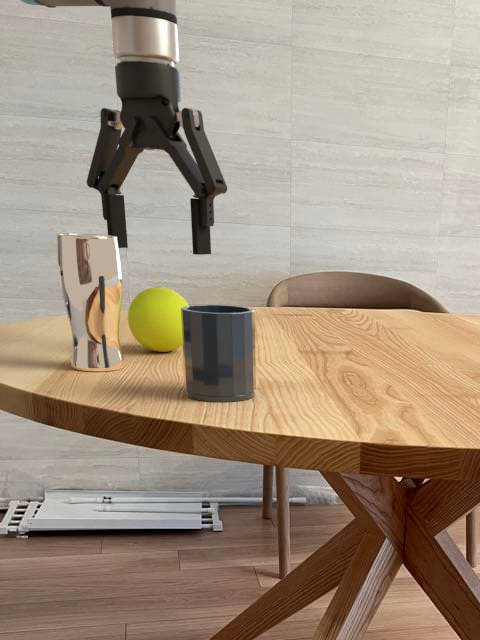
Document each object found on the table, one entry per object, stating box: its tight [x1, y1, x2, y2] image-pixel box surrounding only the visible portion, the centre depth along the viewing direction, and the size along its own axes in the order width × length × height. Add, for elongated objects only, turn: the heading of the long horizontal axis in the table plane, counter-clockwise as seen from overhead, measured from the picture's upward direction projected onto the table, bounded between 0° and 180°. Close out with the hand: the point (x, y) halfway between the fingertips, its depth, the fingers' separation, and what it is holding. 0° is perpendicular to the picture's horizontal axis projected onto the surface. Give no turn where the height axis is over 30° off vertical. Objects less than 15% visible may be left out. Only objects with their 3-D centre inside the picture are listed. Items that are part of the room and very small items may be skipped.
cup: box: [181, 304, 257, 403], centre depth 88 cm, size 7×7×9 cm
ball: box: [127, 286, 190, 353], centre depth 110 cm, size 8×8×8 cm
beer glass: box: [56, 232, 126, 372], centre depth 97 cm, size 7×7×15 cm
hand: (159, 251), depth 107 cm, fingers open, 13 cm apart
